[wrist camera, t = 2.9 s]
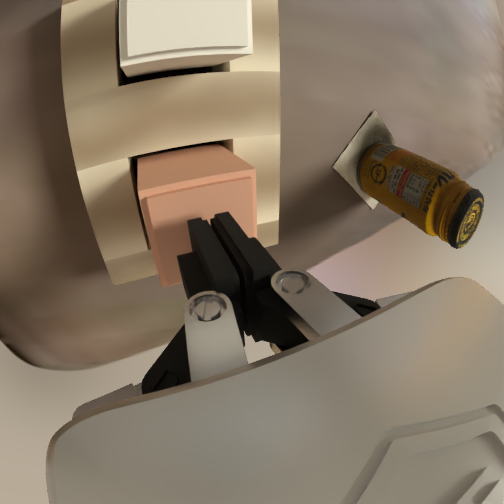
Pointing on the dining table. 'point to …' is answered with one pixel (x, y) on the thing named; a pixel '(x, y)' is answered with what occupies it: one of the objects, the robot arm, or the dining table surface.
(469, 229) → the condiment
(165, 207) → the terracotta key
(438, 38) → the dining table surface
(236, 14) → the ivory key
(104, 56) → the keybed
